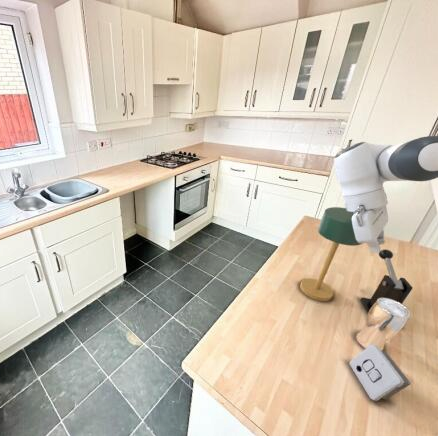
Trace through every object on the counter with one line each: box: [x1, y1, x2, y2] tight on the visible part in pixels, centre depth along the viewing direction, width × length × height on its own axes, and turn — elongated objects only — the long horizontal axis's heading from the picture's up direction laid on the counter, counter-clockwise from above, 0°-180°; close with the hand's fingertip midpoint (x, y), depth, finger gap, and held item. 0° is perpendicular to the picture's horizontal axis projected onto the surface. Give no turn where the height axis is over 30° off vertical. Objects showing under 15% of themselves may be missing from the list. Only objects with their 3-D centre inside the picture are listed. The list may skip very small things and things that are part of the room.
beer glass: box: [355, 298, 411, 351], centre depth 67 cm, size 7×7×15 cm
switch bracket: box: [360, 274, 414, 313], centre depth 77 cm, size 9×7×14 cm
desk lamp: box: [299, 206, 363, 302], centre depth 82 cm, size 12×12×32 cm
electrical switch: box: [349, 345, 412, 402], centre depth 60 cm, size 9×5×9 cm, turn 173°
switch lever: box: [378, 248, 404, 292], centre depth 78 cm, size 14×3×3 cm, turn 162°
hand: (378, 247), depth 69 cm, fingers open, 6 cm apart
